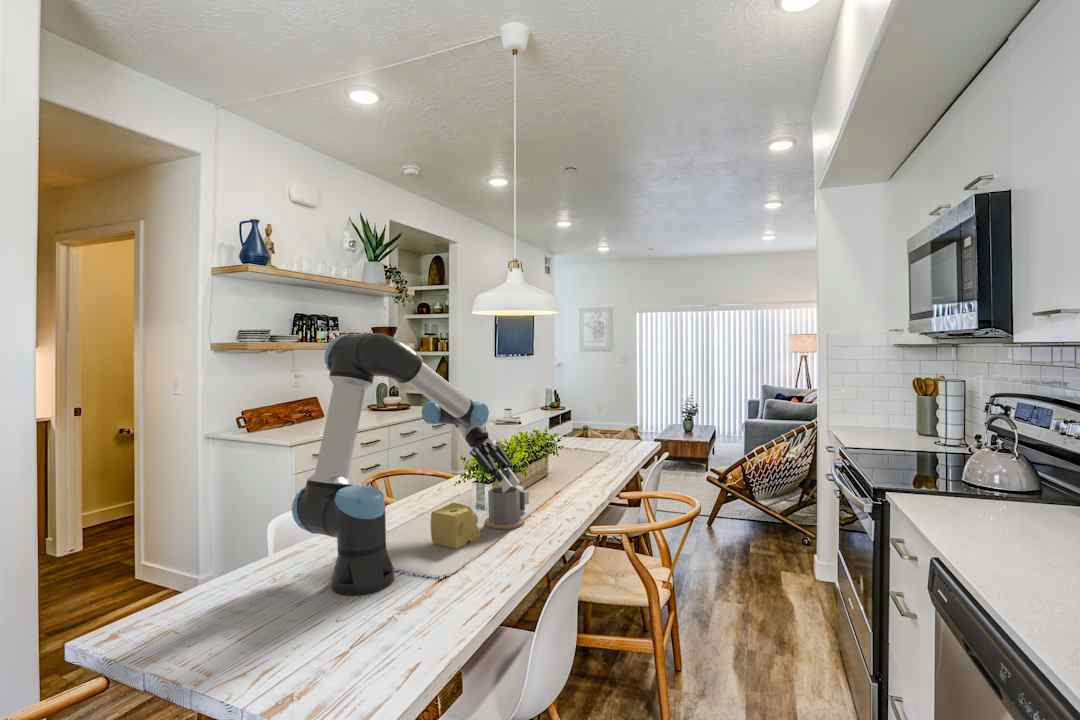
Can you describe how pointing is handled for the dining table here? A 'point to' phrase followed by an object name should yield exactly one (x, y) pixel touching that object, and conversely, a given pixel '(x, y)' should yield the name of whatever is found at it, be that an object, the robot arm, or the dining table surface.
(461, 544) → the cheese
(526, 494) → the pale green dome knob
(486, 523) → the grey octagonal cup
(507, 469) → the plunger
